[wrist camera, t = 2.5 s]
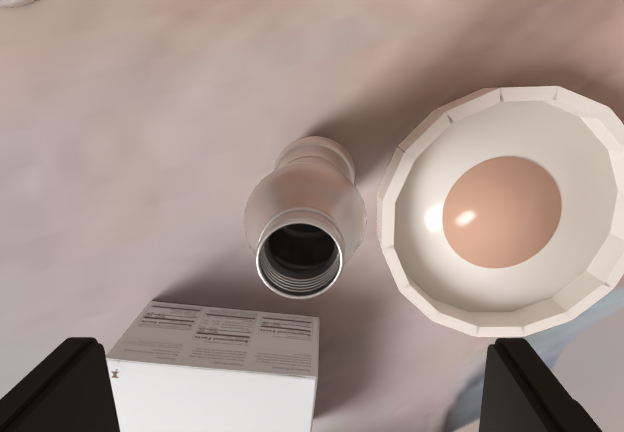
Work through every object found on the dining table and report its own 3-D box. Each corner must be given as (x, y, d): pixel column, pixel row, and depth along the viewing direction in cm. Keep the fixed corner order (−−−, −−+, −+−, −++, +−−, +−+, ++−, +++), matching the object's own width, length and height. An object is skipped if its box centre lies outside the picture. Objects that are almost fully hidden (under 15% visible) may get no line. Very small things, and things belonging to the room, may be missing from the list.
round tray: (379, 91, 34) (384, 91, 30) (642, 83, 33) (678, 82, 30) (375, 316, 40) (379, 337, 37) (597, 315, 39) (622, 336, 36)
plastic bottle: (363, 190, 36) (403, 301, 17) (292, 216, 37) (256, 348, 18) (338, 121, 35) (351, 158, 16) (264, 149, 36) (192, 218, 16)
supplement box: (153, 406, 44) (109, 486, 35) (150, 298, 40) (100, 357, 32) (308, 422, 44) (304, 507, 35) (320, 315, 40) (319, 379, 31)
